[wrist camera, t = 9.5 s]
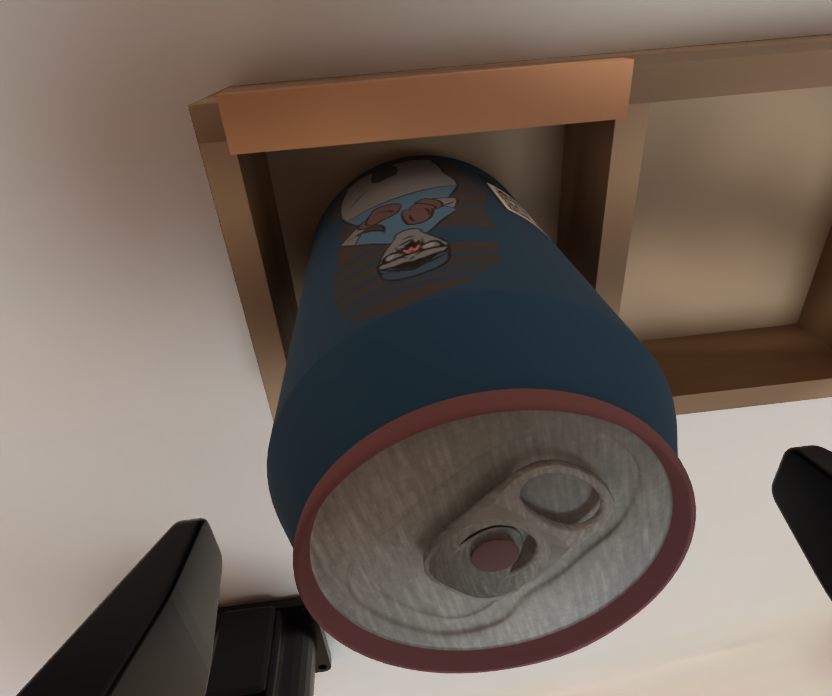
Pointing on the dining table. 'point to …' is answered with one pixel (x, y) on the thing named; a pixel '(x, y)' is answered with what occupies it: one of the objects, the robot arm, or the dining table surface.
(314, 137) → the rack
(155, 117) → the dining table surface
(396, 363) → the soda can
